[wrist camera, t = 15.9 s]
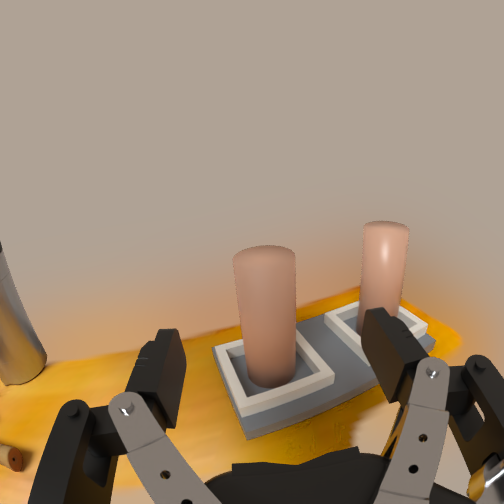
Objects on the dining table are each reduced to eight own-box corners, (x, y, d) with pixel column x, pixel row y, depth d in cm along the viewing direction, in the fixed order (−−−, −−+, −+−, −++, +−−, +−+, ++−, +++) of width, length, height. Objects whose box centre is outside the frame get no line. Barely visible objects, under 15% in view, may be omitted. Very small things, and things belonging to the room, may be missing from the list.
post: (273, 396, 24) (266, 276, 19) (237, 373, 28) (219, 260, 23) (304, 367, 27) (307, 252, 23) (269, 349, 31) (261, 241, 26)
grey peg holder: (247, 440, 21) (219, 312, 16) (213, 356, 33) (190, 245, 27) (432, 349, 27) (459, 236, 22) (371, 304, 39) (378, 209, 34)
